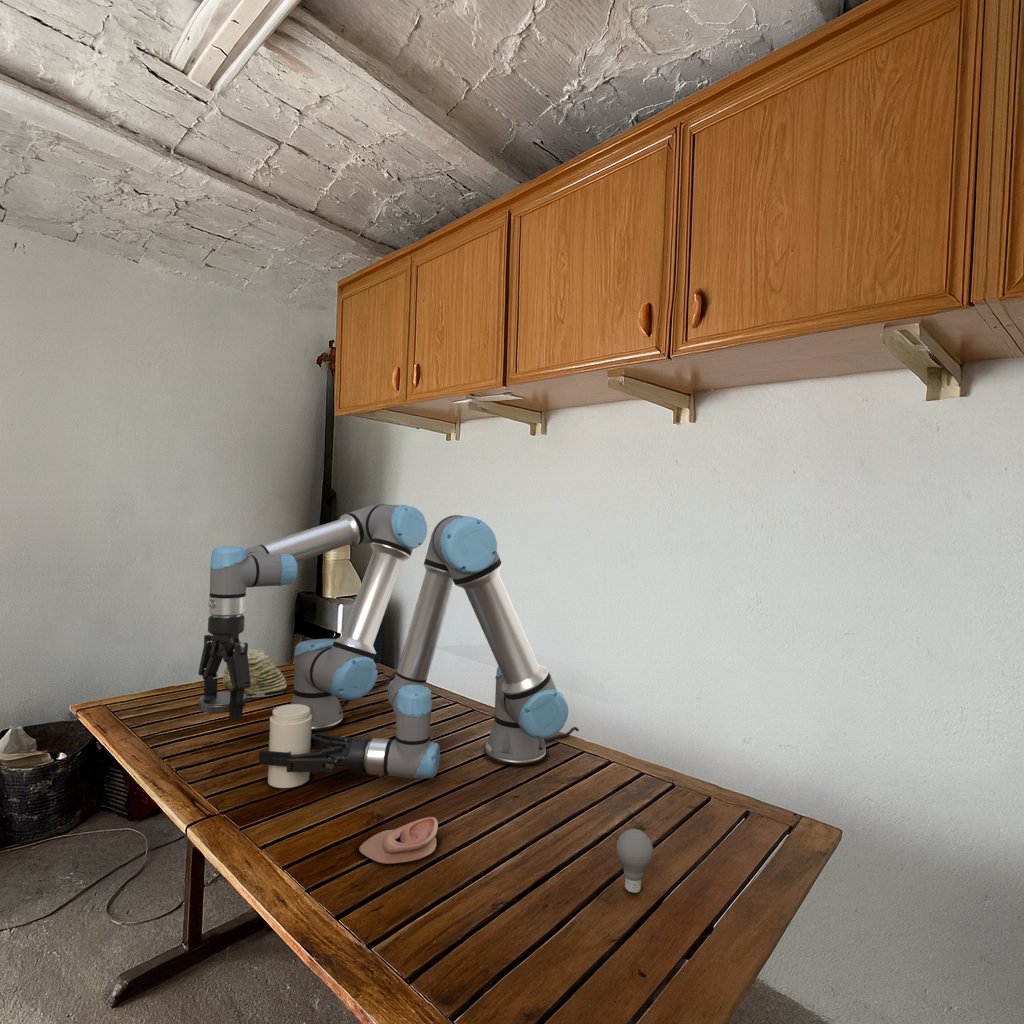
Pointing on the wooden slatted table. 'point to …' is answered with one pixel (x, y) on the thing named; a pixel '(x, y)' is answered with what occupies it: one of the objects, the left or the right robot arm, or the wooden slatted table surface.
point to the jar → (289, 742)
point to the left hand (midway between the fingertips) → (222, 713)
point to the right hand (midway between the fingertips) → (270, 748)
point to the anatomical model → (403, 842)
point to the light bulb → (634, 857)
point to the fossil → (260, 676)
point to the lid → (216, 702)
